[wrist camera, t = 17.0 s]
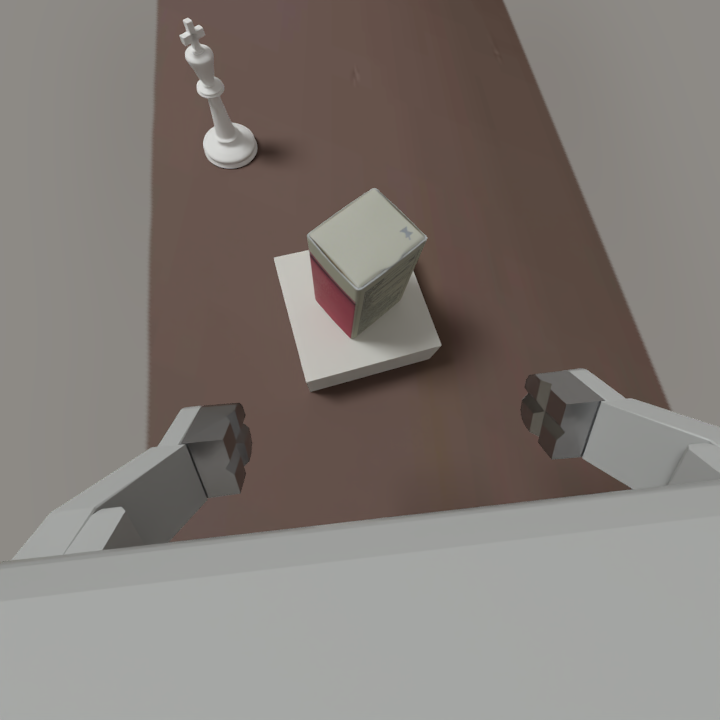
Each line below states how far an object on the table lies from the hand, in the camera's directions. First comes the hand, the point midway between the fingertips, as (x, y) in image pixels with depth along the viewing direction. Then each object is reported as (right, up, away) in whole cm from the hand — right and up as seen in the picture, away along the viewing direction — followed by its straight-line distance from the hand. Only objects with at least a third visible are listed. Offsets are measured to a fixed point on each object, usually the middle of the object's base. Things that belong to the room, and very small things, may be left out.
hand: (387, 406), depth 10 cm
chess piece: (-13, +22, +23) cm, 34 cm away
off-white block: (-1, +5, +19) cm, 20 cm away
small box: (-1, +6, +16) cm, 17 cm away
